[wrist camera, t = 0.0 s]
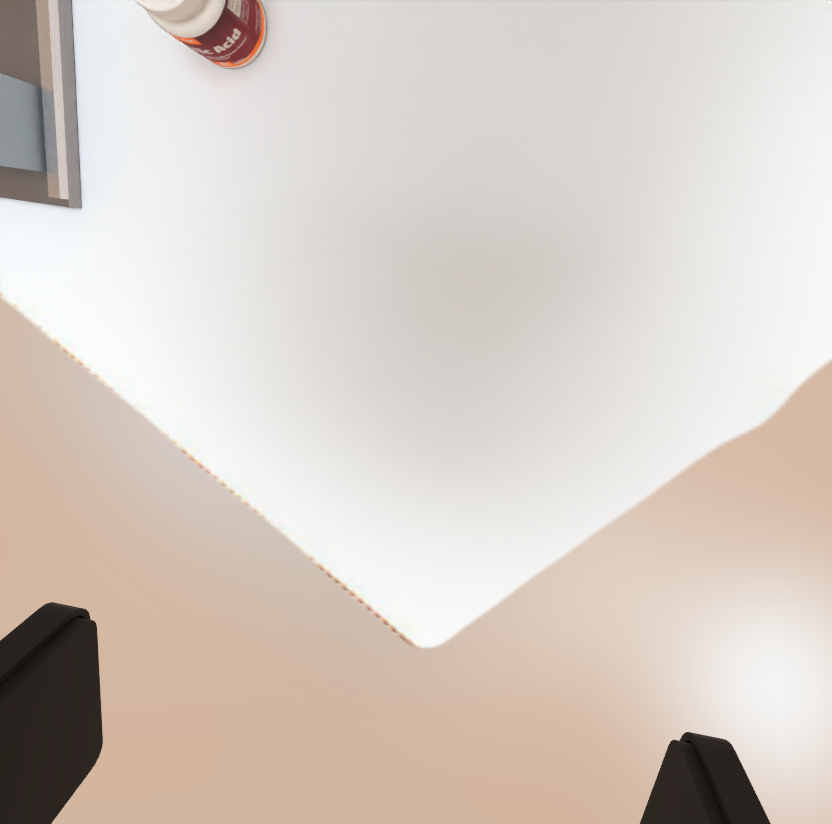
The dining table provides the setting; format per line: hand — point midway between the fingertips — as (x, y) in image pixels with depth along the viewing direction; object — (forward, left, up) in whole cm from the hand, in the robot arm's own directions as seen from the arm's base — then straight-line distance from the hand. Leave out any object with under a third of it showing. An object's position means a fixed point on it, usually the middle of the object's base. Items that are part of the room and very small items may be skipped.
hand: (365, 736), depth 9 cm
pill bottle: (-18, -17, -31) cm, 40 cm away
